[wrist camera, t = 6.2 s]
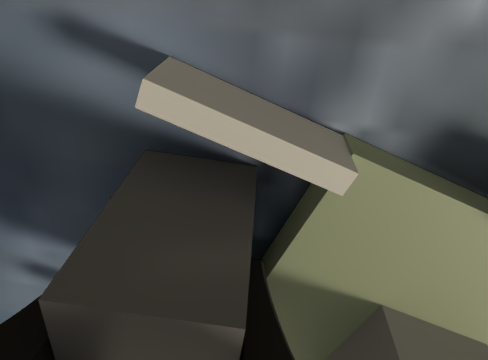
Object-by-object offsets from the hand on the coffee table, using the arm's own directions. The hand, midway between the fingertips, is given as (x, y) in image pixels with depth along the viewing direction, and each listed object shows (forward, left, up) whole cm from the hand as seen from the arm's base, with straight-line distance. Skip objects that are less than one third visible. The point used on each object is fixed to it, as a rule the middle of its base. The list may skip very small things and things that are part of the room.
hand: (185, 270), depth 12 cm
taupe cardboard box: (0, 0, -2) cm, 2 cm away
